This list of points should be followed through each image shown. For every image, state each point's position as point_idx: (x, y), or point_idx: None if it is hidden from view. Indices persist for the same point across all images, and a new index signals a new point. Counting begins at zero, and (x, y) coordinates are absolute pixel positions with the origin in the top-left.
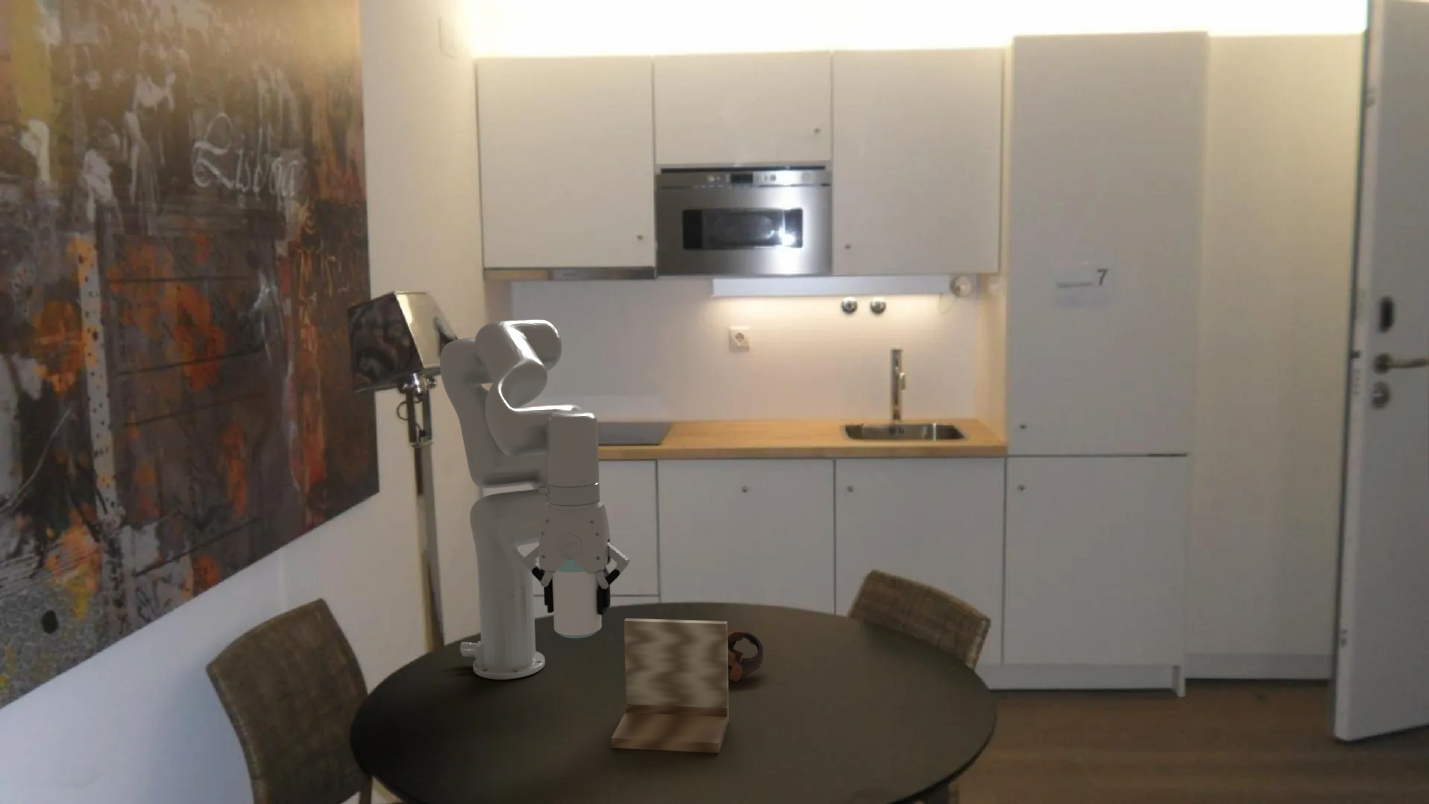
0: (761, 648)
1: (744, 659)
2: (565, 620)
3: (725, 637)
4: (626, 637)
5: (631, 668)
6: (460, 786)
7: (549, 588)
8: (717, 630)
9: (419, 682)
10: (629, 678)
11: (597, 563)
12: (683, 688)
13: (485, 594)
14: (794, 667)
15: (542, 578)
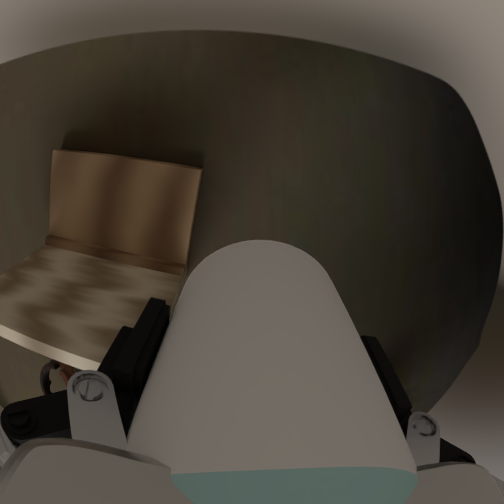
0: (40, 381)
1: (52, 366)
2: (307, 271)
3: None
4: None
5: None
6: (410, 83)
7: (400, 403)
8: None
9: (440, 375)
10: (166, 296)
11: (36, 496)
12: (83, 268)
13: None
14: (33, 368)
15: (438, 441)
